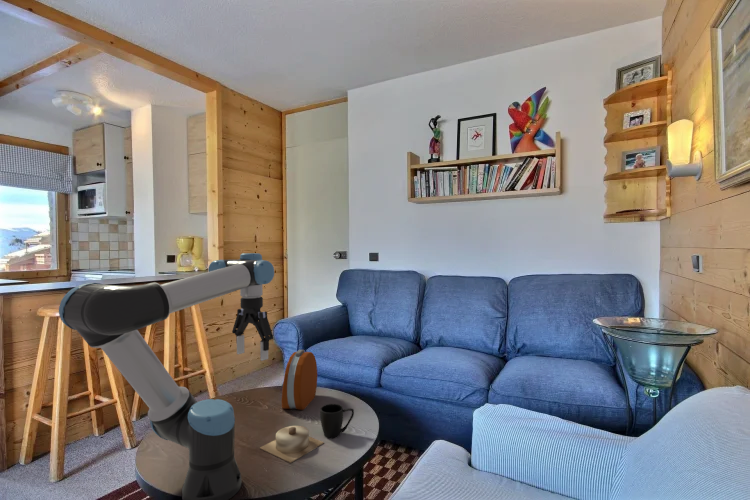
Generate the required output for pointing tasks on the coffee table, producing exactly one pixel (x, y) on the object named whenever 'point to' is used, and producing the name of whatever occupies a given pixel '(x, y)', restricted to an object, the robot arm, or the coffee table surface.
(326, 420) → the mug
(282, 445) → the lid
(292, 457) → the mat
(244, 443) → the coffee table surface
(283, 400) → the alarm clock
